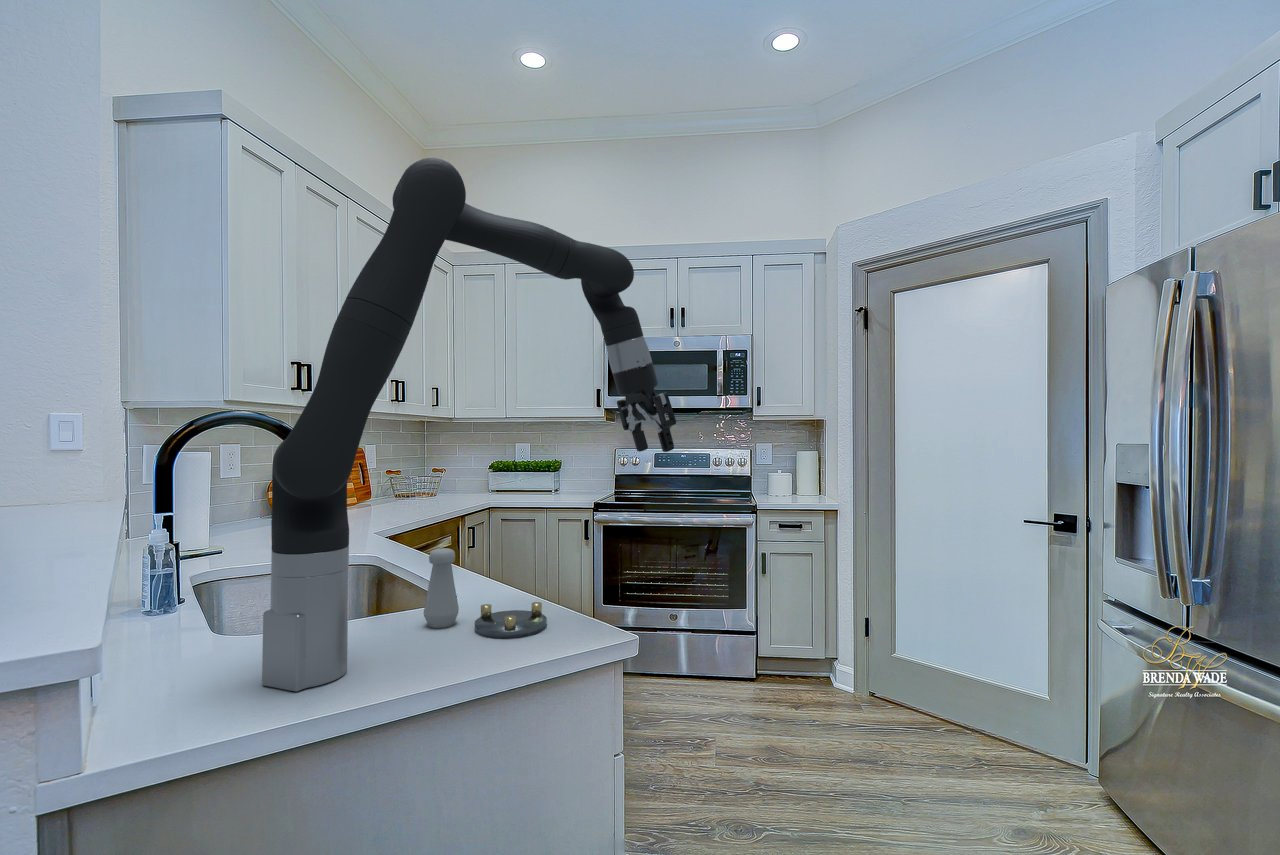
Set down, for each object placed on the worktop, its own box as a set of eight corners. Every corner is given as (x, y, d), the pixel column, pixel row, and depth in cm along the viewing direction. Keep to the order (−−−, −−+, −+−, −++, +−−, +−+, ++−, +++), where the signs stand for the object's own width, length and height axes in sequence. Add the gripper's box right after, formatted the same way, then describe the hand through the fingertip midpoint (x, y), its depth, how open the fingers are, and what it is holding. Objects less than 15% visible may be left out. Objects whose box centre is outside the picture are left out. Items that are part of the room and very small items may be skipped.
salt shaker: (436, 632, 100) (437, 553, 100) (416, 625, 104) (417, 549, 104) (465, 623, 105) (466, 548, 105) (445, 617, 108) (446, 545, 108)
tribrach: (523, 642, 95) (523, 622, 95) (459, 633, 99) (460, 614, 99) (558, 621, 107) (558, 602, 107) (500, 614, 111) (500, 596, 111)
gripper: (595, 375, 113) (619, 456, 115) (636, 366, 101) (661, 457, 103) (628, 365, 117) (650, 444, 119) (670, 355, 105) (694, 443, 107)
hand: (655, 450), depth 111 cm, fingers open, 8 cm apart
